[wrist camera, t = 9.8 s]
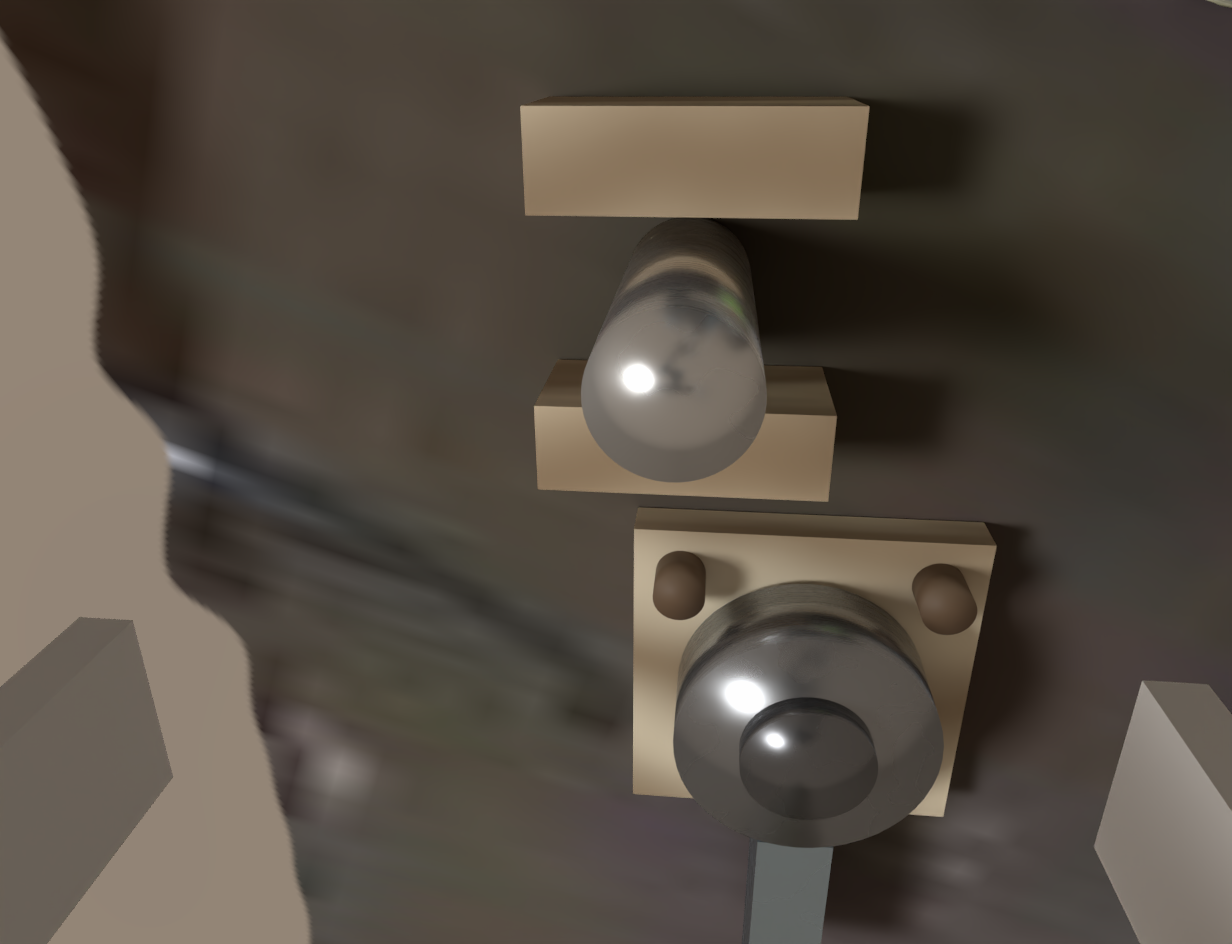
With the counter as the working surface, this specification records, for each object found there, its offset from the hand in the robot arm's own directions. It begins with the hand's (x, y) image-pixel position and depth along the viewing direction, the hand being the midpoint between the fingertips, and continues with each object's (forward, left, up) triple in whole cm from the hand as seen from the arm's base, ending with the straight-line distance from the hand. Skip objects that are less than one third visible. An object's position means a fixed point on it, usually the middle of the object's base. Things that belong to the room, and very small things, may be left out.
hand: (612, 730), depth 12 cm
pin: (-2, 0, -17) cm, 17 cm away
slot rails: (-2, 0, -17) cm, 17 cm away
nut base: (+11, +4, -17) cm, 21 cm away
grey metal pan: (+15, +4, -15) cm, 22 cm away
